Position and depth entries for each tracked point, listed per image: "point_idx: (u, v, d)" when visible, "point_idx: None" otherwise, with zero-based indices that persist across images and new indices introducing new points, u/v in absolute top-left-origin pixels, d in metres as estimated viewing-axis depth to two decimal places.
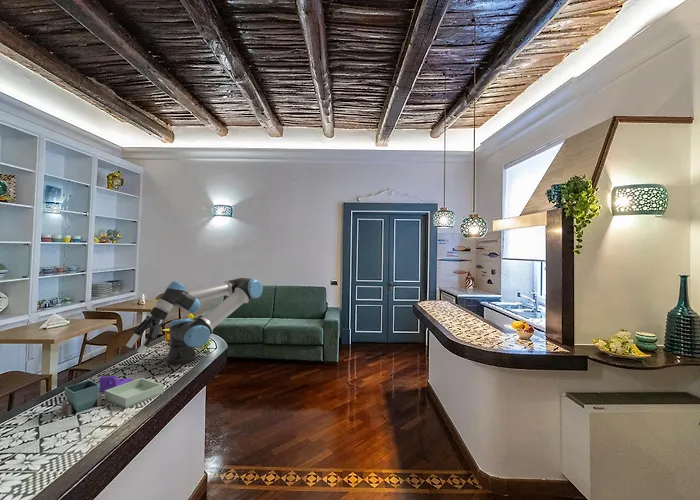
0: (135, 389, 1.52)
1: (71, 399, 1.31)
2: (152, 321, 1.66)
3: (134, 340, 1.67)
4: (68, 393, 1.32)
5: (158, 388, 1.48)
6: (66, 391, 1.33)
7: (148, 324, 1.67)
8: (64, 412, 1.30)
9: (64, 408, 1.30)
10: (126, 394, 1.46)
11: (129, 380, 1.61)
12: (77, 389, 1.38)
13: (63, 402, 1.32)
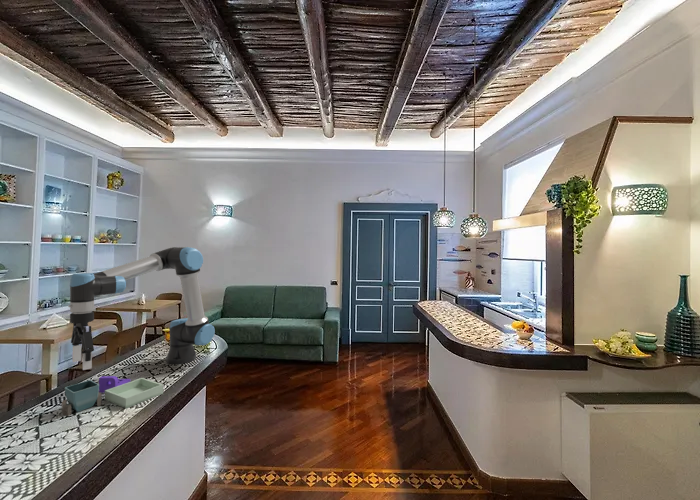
0: (135, 389, 1.52)
1: (71, 399, 1.31)
2: (79, 330, 1.33)
3: (78, 352, 1.40)
4: (68, 393, 1.32)
5: (158, 388, 1.48)
6: (66, 391, 1.33)
7: (78, 333, 1.35)
8: (64, 412, 1.30)
9: (64, 408, 1.30)
10: (126, 394, 1.46)
11: (128, 380, 1.60)
12: (77, 389, 1.38)
13: (63, 402, 1.32)
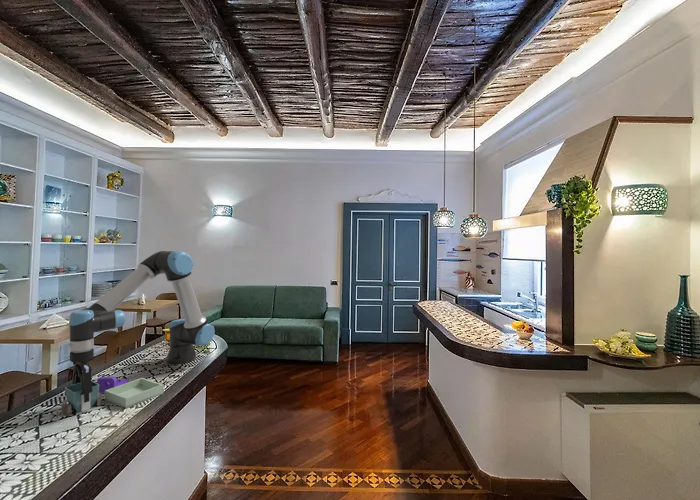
0: (135, 389, 1.52)
1: (71, 399, 1.31)
2: (79, 369, 1.33)
3: None
4: (68, 393, 1.32)
5: (158, 388, 1.48)
6: (66, 391, 1.33)
7: (78, 371, 1.35)
8: (64, 412, 1.30)
9: (64, 408, 1.30)
10: (126, 394, 1.46)
11: (126, 381, 1.60)
12: (77, 389, 1.38)
13: (63, 402, 1.32)
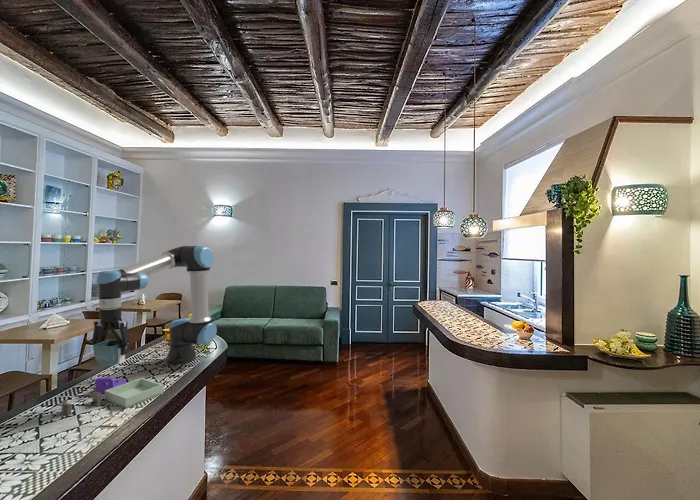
0: (135, 389, 1.52)
1: (106, 354, 1.37)
2: (112, 326, 1.39)
3: None
4: (101, 349, 1.37)
5: (158, 388, 1.48)
6: (96, 348, 1.37)
7: (107, 329, 1.40)
8: (64, 412, 1.30)
9: (64, 408, 1.30)
10: (126, 394, 1.46)
11: (124, 381, 1.59)
12: None
13: (63, 402, 1.32)
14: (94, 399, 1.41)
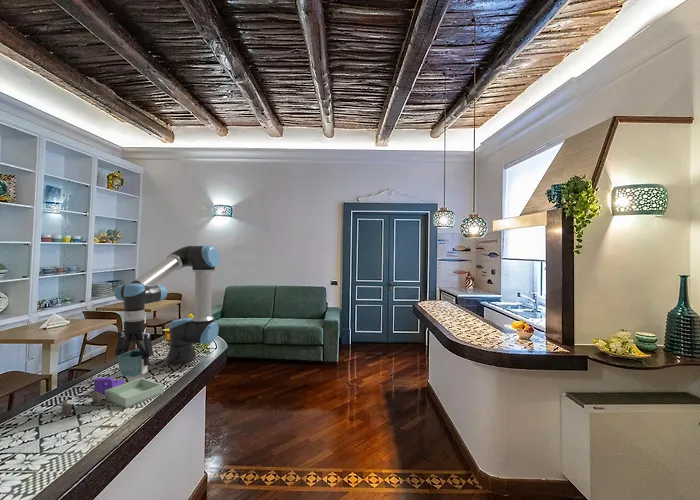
0: (135, 389, 1.52)
1: (130, 364, 1.41)
2: (136, 337, 1.44)
3: None
4: (125, 360, 1.41)
5: (158, 388, 1.48)
6: (121, 359, 1.42)
7: (131, 340, 1.45)
8: (64, 412, 1.30)
9: (64, 408, 1.30)
10: (126, 394, 1.46)
11: (122, 381, 1.59)
12: None
13: (63, 402, 1.32)
14: (94, 399, 1.41)
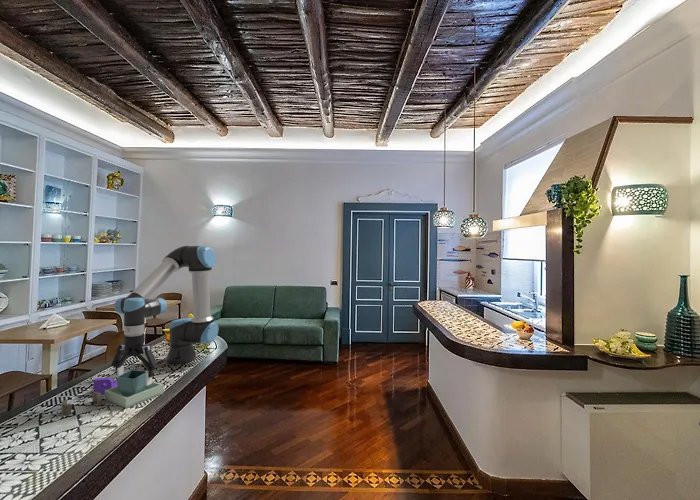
0: None
1: (129, 386, 1.42)
2: (136, 351, 1.44)
3: (122, 373, 1.47)
4: (123, 381, 1.42)
5: (158, 388, 1.48)
6: (119, 380, 1.42)
7: (131, 355, 1.45)
8: (64, 412, 1.30)
9: (64, 408, 1.30)
10: None
11: None
12: None
13: (63, 402, 1.32)
14: (94, 399, 1.41)
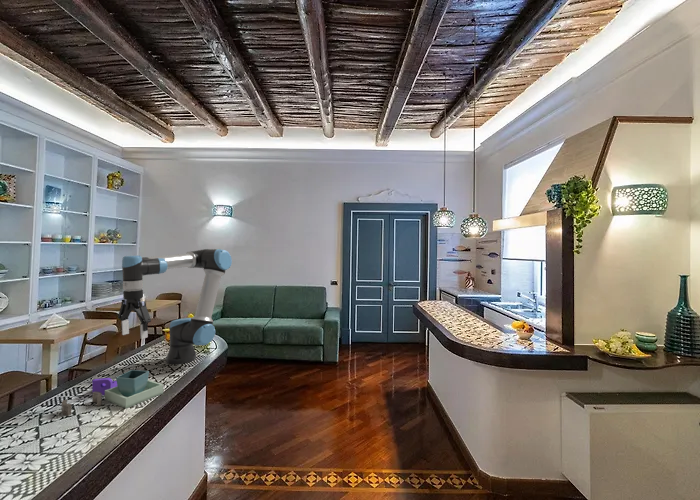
0: None
1: (129, 386, 1.42)
2: (133, 305, 1.52)
3: (126, 326, 1.58)
4: (123, 381, 1.42)
5: (158, 388, 1.48)
6: (119, 380, 1.42)
7: (130, 309, 1.54)
8: (64, 412, 1.30)
9: (64, 408, 1.30)
10: None
11: None
12: None
13: (63, 402, 1.32)
14: (94, 399, 1.41)
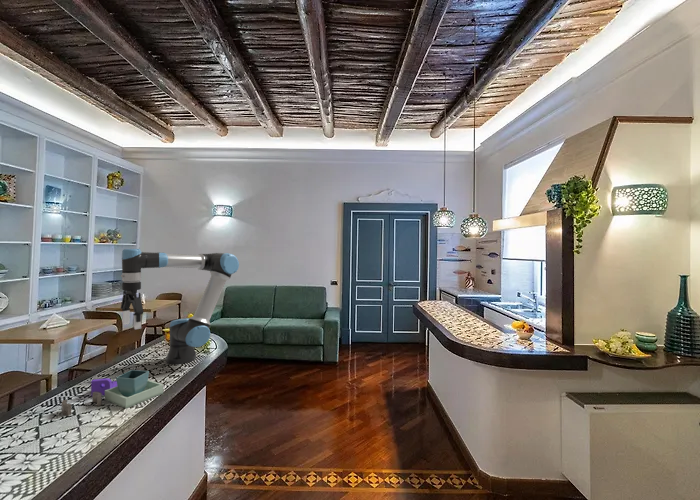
0: None
1: (129, 386, 1.42)
2: (130, 296, 1.57)
3: (127, 316, 1.64)
4: (123, 381, 1.42)
5: (158, 388, 1.48)
6: (119, 380, 1.42)
7: (128, 300, 1.59)
8: (64, 412, 1.30)
9: (64, 408, 1.30)
10: None
11: None
12: None
13: (63, 402, 1.32)
14: (94, 399, 1.41)
